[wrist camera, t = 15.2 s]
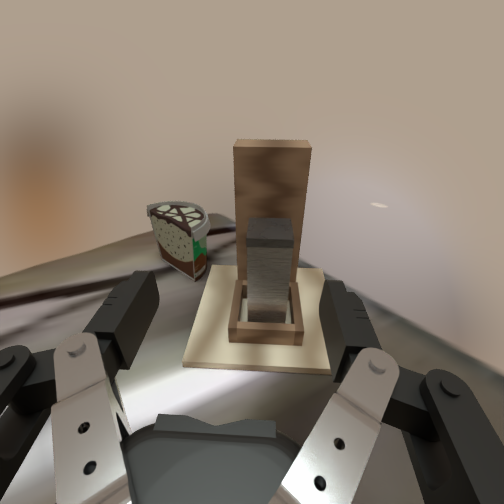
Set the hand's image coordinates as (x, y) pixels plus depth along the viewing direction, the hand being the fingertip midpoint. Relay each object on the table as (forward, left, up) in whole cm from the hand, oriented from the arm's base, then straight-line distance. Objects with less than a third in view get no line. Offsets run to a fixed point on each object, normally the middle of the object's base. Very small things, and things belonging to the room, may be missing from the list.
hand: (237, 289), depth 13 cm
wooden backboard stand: (+2, +17, -18) cm, 25 cm away
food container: (-11, +28, -19) cm, 35 cm away
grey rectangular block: (+2, +15, -17) cm, 23 cm away
